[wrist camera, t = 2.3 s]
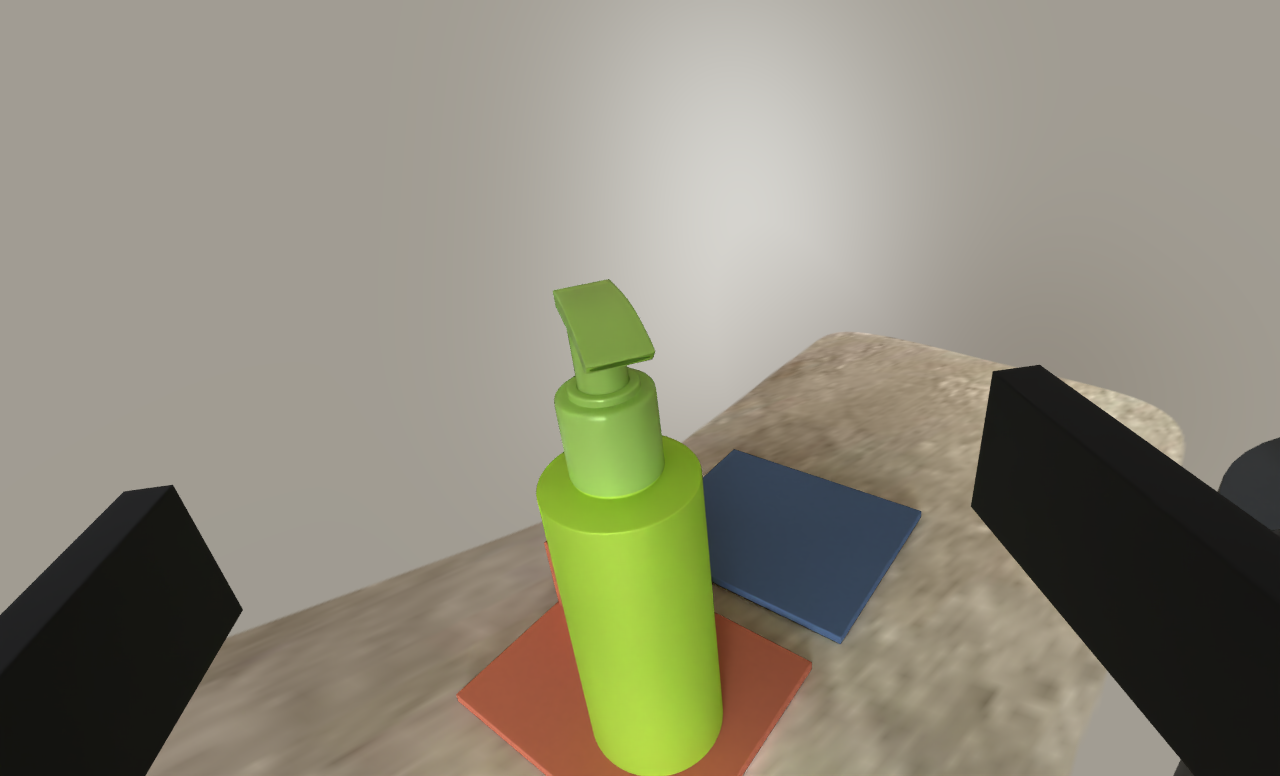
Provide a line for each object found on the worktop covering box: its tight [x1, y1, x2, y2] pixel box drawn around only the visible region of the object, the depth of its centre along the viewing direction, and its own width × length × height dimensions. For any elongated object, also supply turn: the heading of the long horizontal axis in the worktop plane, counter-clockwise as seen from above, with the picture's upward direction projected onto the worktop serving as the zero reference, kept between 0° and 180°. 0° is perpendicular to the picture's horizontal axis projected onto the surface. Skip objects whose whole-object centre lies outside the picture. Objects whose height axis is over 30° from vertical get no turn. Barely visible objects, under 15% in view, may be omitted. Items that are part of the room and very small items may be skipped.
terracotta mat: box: [456, 601, 812, 776], centre depth 31 cm, size 13×11×1 cm
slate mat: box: [703, 449, 921, 644], centre depth 39 cm, size 13×11×1 cm
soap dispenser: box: [536, 279, 723, 776], centre depth 24 cm, size 6×7×20 cm
